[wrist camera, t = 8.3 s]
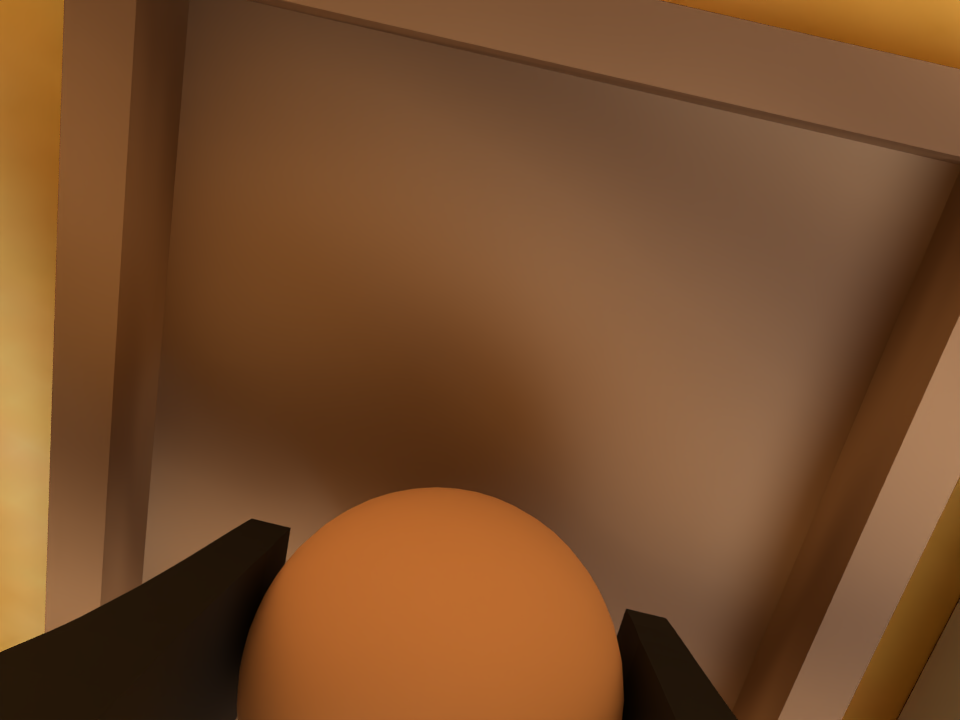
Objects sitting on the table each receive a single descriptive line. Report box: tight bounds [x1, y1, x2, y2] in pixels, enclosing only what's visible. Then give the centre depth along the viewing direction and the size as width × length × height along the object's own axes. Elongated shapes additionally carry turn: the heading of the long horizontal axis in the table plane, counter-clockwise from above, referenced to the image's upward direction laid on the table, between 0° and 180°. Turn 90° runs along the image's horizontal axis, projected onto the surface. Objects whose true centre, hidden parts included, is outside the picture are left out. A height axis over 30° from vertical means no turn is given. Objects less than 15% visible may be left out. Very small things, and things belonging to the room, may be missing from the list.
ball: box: [237, 487, 624, 720], centre depth 10 cm, size 5×5×5 cm
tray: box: [45, 0, 960, 720], centre depth 13 cm, size 18×14×2 cm
